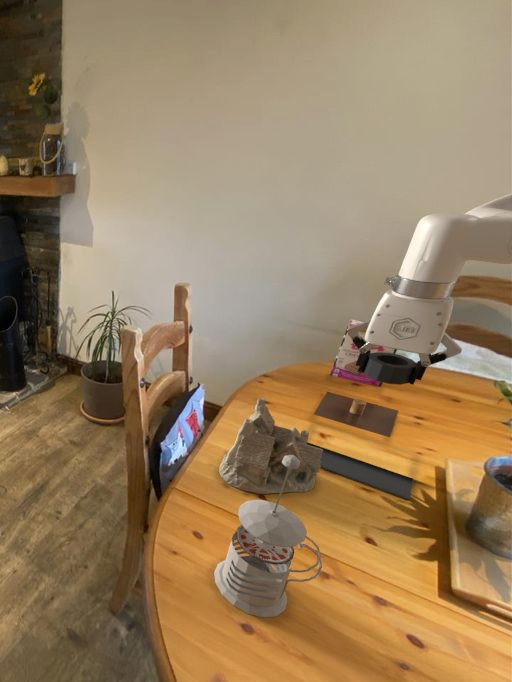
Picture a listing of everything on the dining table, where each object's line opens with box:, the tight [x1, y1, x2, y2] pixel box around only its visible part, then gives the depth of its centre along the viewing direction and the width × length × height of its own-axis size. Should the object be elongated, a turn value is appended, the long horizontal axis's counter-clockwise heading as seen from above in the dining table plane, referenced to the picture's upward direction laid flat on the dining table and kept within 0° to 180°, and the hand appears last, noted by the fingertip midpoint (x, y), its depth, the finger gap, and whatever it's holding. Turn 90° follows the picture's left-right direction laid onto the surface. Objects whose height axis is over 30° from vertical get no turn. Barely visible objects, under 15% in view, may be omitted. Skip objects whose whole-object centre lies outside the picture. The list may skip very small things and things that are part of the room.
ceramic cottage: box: [218, 397, 323, 495], centre depth 81 cm, size 16×16×15 cm
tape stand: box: [313, 391, 399, 438], centre depth 99 cm, size 14×14×4 cm
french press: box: [213, 455, 323, 619], centre depth 57 cm, size 10×12×25 cm
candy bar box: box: [329, 318, 398, 388], centre depth 110 cm, size 11×5×16 cm, turn 47°
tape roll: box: [362, 352, 417, 386], centre depth 81 cm, size 7×7×4 cm
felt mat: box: [307, 441, 414, 501], centre depth 87 cm, size 18×18×1 cm
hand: (385, 374), depth 82 cm, fingers closed on tape roll, 7 cm apart
